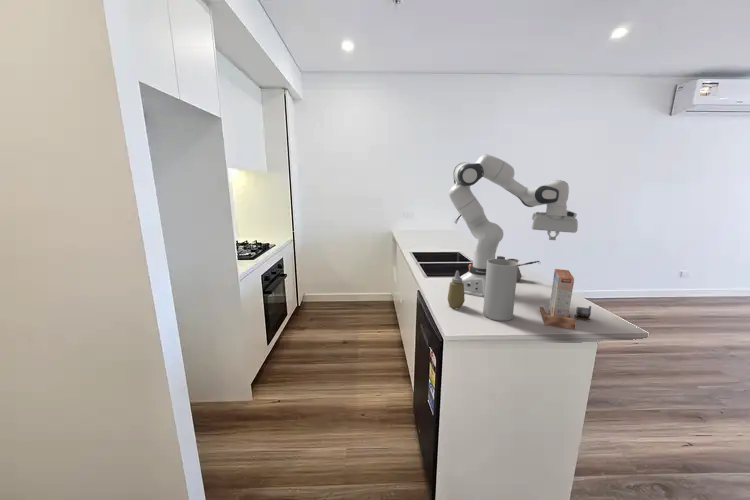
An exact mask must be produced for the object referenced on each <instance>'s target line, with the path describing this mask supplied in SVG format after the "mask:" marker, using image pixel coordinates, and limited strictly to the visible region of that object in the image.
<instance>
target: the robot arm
mask: <svg viewBox="0 0 750 500" xmlns="http://www.w3.org/2000/svg"><path fill="white" fill-rule="evenodd" d="M514 177H515V169H514V166H512V165H511V164H509V163H508V162H507V161H505V160H502V159H500V158H499V157H496V156H493V155H490V154H482V155H481V156H479V157H478V159H477V160H476V161H475V162H474V163H471V162H466V161H465V162H464V161H463V162H460V163H459V164H456V166H455V168H454V170H453V183H454V184H453V185H452V186H451V187H450V189H449V190H448V196H449V198H450V200H451V202H452V205H453V206H454V208H455V209H456V210H457V212H458V213H459V215H461V217H462V218H463V220H464V222H465V224H466V225H467V228H468V229H469V231H470V233H471V235H472V236H473V237H474V238H475V239H476V240H477V245H476V247H475V250H474V251H473V257H472V258H473V259H472V264H471V263H470V264H469V265H467V266H468V271H467V272H466V273H464V274H462V275H460V278H462V283H463V284H464V294H466V295H472V296H476V297H484V294H485V282H486V269H487V260H489V259H496V253H497V249H498V246H499V245H500V242H501V241H502V240H503V239H504V238H503V237H504V230H503V228H502V227H501V226H499V225H498V224H497V223H495V222H492V221H490V220H489V219H488V218H487V215H486V213H485V211H484V208H483V206H482V205H481V204H480V202H479V200H478V199H477V197H476V196H475V195H474V193H473V192H472V190H471V186H473V185H475V184H476V183H478V182H479V180H481V179H482V178H484V179H487V181H490V182H492V183H494V184H496V185H497V186H499V187H501V188H502V189H504V190H506V191H507V192H509V194H510V193H511V194H512V195H513V196H514V197H517V198H518V199H519V200H520V202H521V203H522V204H523V205H524V206H525V207H528V208H533V207H538V206H544V205H545V206H546V209H545V210H546V211H545V212H544V211H542V212H540V211H537V212H534V213H532V216H531V217H532V218H531V219H532V224H531V230H533V231H535V230H536V231H546V232H547V235H548V240H549V241H556V240H557V236H559V235H560V232H561V233H572V234H573V233H574V234H575V233H577V232H578V228H579V225H578V224H579V223H578V219H577V215H578V214H577V213H576V212H573V211H571V210H568V206H567V202H568V199H569V193H570V192H569V191H570V187H569V184H568V182H567V181H565V180H559V179H555V180H552V181H551V182H549V183H546V184H542V185H539V186H535V187H526V186H524V185H523V184H521V183H520V182H519V181H517V180H516V179H515V178H514ZM552 232H555V235H554V236H552V234H551V233H552Z"/></svg>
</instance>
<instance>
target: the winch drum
mask: <svg viewBox="0 0 750 500" xmlns="http://www.w3.org/2000/svg"><path fill="white" fill-rule="evenodd" d="M591 313H592V306H591V305H589V306H588V307H581V306H577V307H576V309H575V313H574V315H573V316H574V319H576V320H579V321H587V322H591Z"/></svg>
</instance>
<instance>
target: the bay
mask: <svg viewBox="0 0 750 500" xmlns="http://www.w3.org/2000/svg"><path fill="white" fill-rule="evenodd" d="M539 314H540V315H541V316H540V317H541V318H542V321H543V323H544V326H551V327H555V328H556V327H557V328H563V329H564V328H565V329H572V330H576V325H577V319H576V318H575V317H574V318H573V317H572V316H571V314H570V313H569V316H568V318H566V317H559V316H551V315H550V314H547V312H546V309H545V307H544V306H539Z"/></svg>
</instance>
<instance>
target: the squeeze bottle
mask: <svg viewBox="0 0 750 500" xmlns="http://www.w3.org/2000/svg"><path fill="white" fill-rule="evenodd" d="M460 277H461V275H460V271H459V270H455V274H454V276H453V277H452V278H451V282H449V287H448V292H447V302H448V306H449V307H450V308H452V309H456V308H458V309H462V307H463V305H464V303H465V301H466V300H465V293H464V284H463V283H462V278H460Z"/></svg>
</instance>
